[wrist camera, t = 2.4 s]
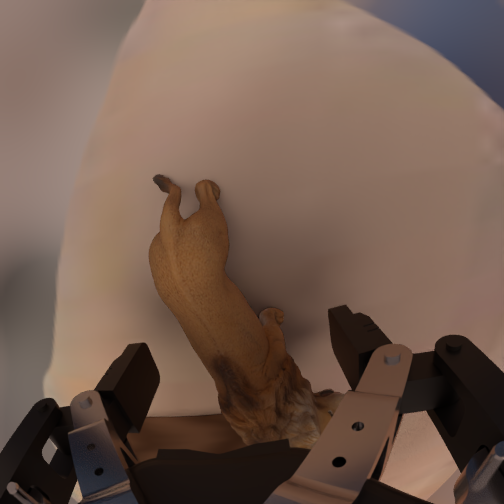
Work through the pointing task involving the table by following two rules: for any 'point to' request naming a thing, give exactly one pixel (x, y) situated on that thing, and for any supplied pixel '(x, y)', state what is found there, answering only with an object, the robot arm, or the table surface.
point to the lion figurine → (232, 328)
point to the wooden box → (185, 435)
